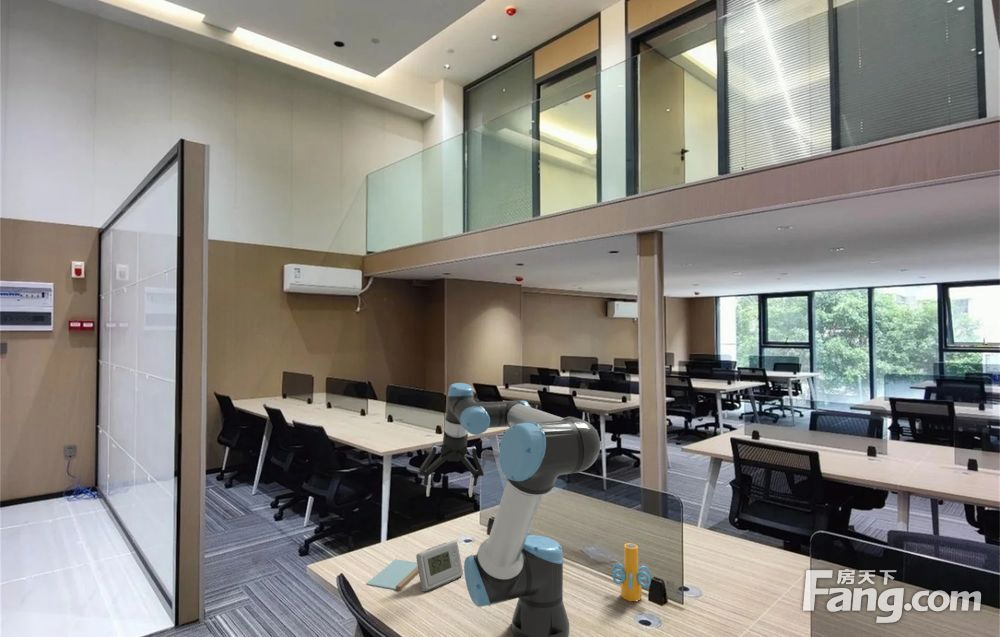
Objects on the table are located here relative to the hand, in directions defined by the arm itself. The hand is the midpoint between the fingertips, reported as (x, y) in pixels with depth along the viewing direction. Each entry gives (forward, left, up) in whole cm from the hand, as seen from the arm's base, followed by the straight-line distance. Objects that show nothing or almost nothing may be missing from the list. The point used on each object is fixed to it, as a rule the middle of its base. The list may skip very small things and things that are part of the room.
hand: (449, 494), depth 156 cm
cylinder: (-56, -9, -27) cm, 63 cm away
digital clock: (+2, +1, -27) cm, 28 cm away
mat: (+17, +1, -27) cm, 32 cm away
